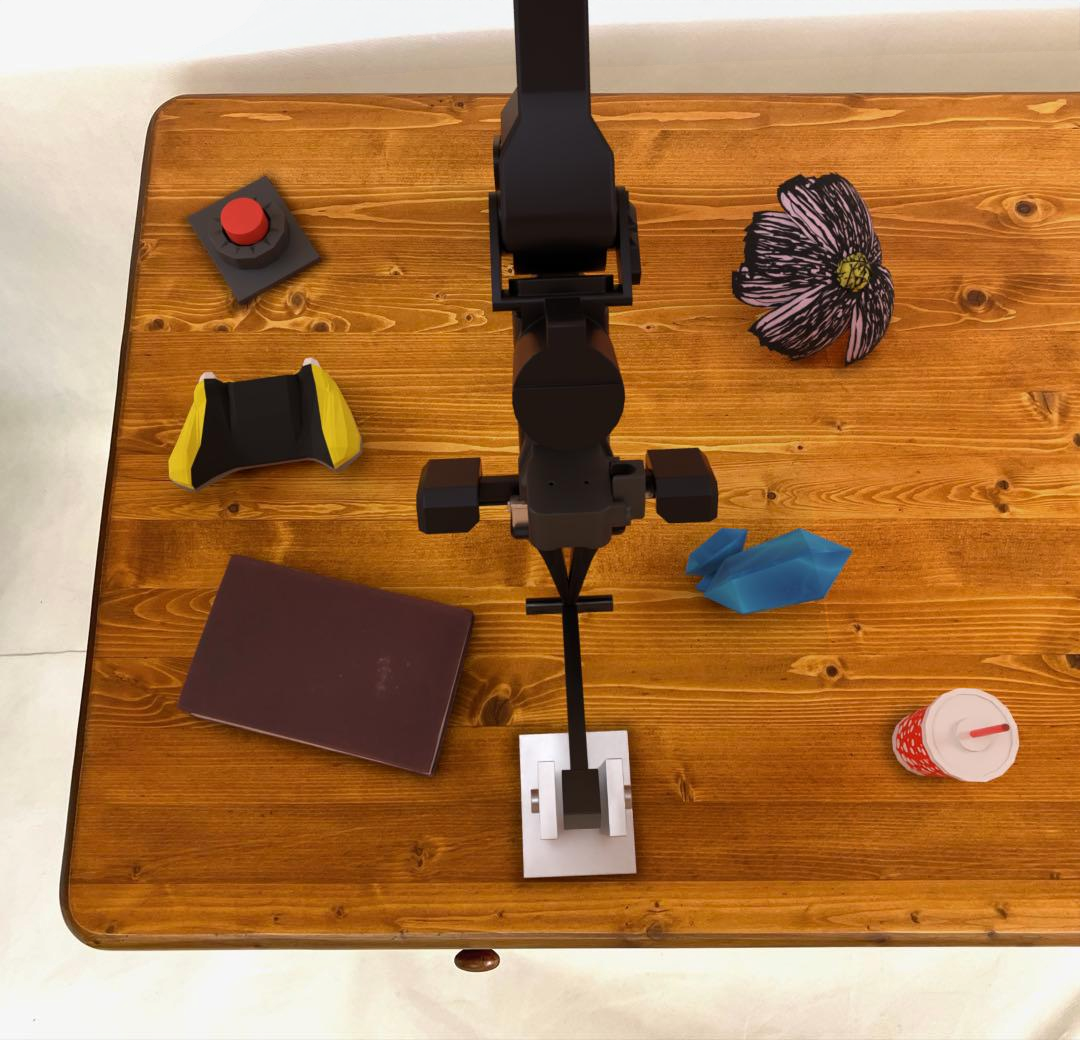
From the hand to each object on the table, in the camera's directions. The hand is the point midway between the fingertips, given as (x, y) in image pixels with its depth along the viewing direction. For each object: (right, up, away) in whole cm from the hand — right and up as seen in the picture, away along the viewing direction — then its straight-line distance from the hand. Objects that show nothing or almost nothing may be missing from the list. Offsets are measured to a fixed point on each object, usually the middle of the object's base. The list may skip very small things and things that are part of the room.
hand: (569, 601), depth 67 cm
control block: (-27, +30, +20) cm, 45 cm away
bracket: (+1, -15, +5) cm, 16 cm away
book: (-18, -6, +9) cm, 21 cm away
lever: (0, -7, -3) cm, 7 cm away
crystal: (+15, +1, +10) cm, 18 cm away
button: (-27, +31, +18) cm, 45 cm away
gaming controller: (-24, +12, +14) cm, 30 cm away
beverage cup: (+27, -11, +6) cm, 29 cm away
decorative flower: (+21, +24, +17) cm, 36 cm away
